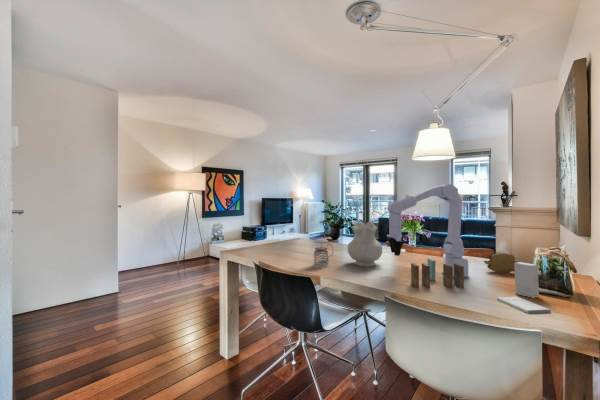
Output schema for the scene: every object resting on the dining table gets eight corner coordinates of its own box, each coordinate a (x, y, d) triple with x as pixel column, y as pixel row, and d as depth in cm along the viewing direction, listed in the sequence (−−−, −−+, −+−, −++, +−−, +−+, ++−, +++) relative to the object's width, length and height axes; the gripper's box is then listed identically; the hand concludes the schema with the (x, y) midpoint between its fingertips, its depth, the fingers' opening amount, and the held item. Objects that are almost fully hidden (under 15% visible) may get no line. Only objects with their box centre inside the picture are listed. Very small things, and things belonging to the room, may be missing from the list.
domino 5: (457, 284, 120) (457, 263, 120) (463, 288, 115) (463, 266, 115) (454, 284, 120) (453, 263, 120) (459, 288, 115) (459, 266, 115)
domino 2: (425, 284, 121) (425, 263, 121) (430, 287, 116) (430, 266, 116) (421, 284, 121) (421, 263, 121) (426, 287, 116) (426, 265, 116)
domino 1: (414, 283, 122) (414, 263, 122) (419, 287, 117) (418, 265, 117) (411, 283, 122) (411, 263, 122) (415, 287, 117) (414, 265, 117)
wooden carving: (518, 272, 141) (518, 252, 141) (523, 274, 136) (523, 254, 136) (482, 270, 143) (482, 251, 143) (486, 273, 139) (486, 253, 139)
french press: (313, 263, 162) (313, 220, 162) (333, 264, 160) (333, 220, 160) (311, 267, 152) (311, 221, 152) (333, 268, 150) (332, 221, 150)
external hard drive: (527, 315, 90) (496, 301, 102) (550, 314, 90) (517, 300, 103) (527, 310, 90) (496, 296, 102) (550, 309, 90) (517, 296, 103)
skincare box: (539, 297, 105) (539, 264, 105) (533, 298, 103) (532, 265, 103) (520, 292, 110) (520, 261, 110) (514, 293, 108) (513, 262, 108)
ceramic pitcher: (386, 271, 147) (390, 224, 147) (349, 268, 147) (353, 221, 148) (376, 262, 169) (379, 221, 169) (344, 260, 169) (347, 219, 169)
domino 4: (447, 284, 121) (447, 263, 121) (452, 288, 116) (452, 266, 116) (443, 284, 121) (443, 263, 121) (448, 288, 116) (448, 266, 116)
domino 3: (431, 277, 132) (431, 258, 132) (435, 280, 127) (435, 260, 127) (427, 277, 132) (427, 258, 132) (431, 280, 127) (431, 260, 127)
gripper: (384, 224, 145) (384, 251, 145) (389, 227, 130) (390, 256, 130) (398, 224, 144) (398, 251, 144) (405, 227, 130) (405, 256, 130)
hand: (395, 253), depth 137 cm, fingers open, 7 cm apart
